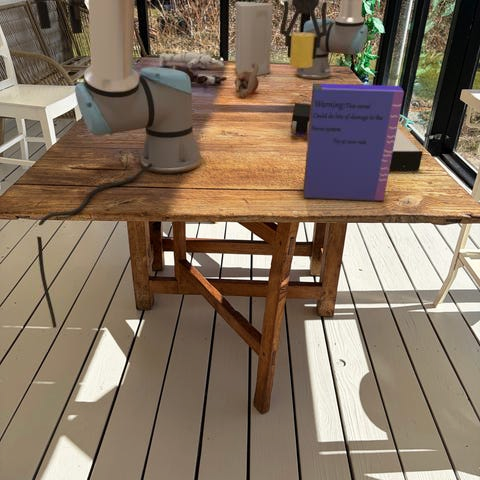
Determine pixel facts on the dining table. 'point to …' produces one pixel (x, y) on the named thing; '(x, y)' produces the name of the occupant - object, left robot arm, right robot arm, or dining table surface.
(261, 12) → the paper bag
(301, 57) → the tin
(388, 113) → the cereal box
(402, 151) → the disc drive
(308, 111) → the figurine character
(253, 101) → the dining table surface
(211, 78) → the figurine
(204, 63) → the toy
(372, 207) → the dining table surface
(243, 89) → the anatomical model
